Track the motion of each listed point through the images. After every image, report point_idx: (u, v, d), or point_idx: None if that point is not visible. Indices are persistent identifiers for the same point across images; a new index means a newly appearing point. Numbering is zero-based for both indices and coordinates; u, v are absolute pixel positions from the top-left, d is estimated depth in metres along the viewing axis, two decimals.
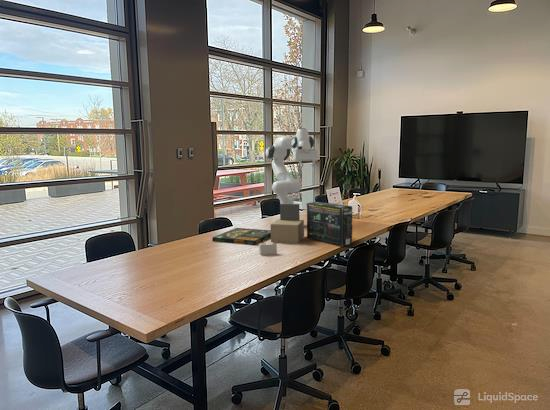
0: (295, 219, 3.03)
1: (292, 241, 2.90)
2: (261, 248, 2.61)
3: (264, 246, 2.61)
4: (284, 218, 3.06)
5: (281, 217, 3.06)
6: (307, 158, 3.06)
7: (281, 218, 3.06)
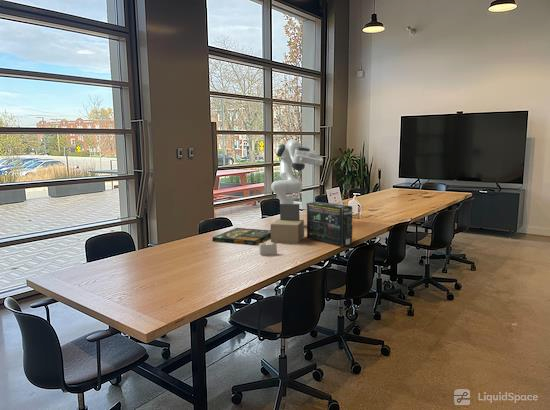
0: (295, 219, 3.03)
1: (292, 241, 2.90)
2: (261, 248, 2.61)
3: (264, 246, 2.62)
4: (284, 218, 3.06)
5: (281, 217, 3.06)
6: (308, 162, 3.02)
7: (281, 218, 3.06)
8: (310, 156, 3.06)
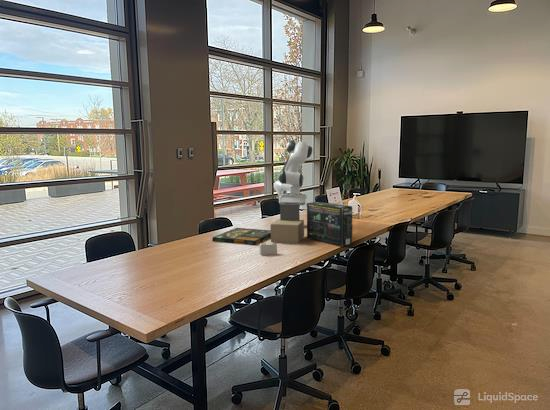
0: (295, 219, 3.04)
1: (292, 241, 2.90)
2: (261, 248, 2.61)
3: (264, 246, 2.62)
4: (284, 218, 3.06)
5: (281, 217, 3.06)
6: (291, 201, 3.09)
7: (281, 218, 3.06)
8: None
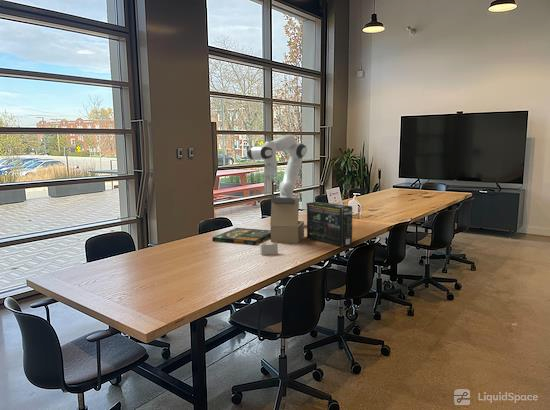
0: (290, 204, 2.89)
1: (292, 241, 2.90)
2: (262, 248, 2.61)
3: (265, 246, 2.62)
4: (279, 203, 2.91)
5: (275, 203, 2.91)
6: None
7: (276, 203, 2.92)
8: (273, 167, 3.11)
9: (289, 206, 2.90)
